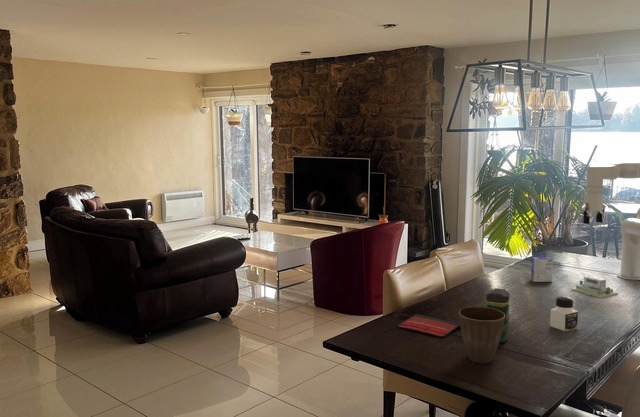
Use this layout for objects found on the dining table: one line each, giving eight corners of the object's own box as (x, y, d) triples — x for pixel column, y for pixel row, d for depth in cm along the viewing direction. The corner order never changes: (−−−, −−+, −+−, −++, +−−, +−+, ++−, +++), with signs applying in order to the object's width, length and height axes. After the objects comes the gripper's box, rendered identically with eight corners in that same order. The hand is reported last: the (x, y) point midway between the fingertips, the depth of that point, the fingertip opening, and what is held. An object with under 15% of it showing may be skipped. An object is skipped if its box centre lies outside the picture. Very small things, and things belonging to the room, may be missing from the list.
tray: (587, 286, 278) (588, 279, 277) (617, 294, 263) (618, 286, 263) (571, 290, 272) (571, 282, 272) (600, 298, 258) (601, 289, 258)
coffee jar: (505, 344, 201) (506, 294, 198) (482, 341, 204) (484, 291, 202) (510, 336, 209) (511, 288, 207) (488, 333, 213) (489, 285, 211)
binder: (415, 313, 233) (462, 323, 219) (415, 318, 233) (462, 329, 220) (395, 324, 220) (443, 336, 207) (395, 330, 221) (443, 342, 207)
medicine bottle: (565, 331, 214) (566, 301, 212) (549, 326, 220) (550, 296, 218) (577, 328, 217) (578, 298, 215) (562, 323, 223) (563, 294, 222)
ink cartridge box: (548, 279, 293) (549, 252, 292) (552, 282, 288) (554, 254, 286) (529, 279, 294) (530, 252, 292) (533, 282, 288) (534, 254, 286)
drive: (589, 287, 273) (589, 275, 272) (605, 291, 265) (606, 279, 264) (583, 288, 271) (583, 276, 270) (599, 292, 263) (600, 280, 262)
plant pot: (511, 367, 181) (512, 319, 179) (466, 369, 180) (467, 321, 178) (493, 350, 195) (494, 305, 194) (451, 351, 194) (452, 307, 192)
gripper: (599, 188, 292) (597, 220, 294) (576, 190, 284) (574, 223, 286) (612, 189, 285) (610, 222, 287) (589, 191, 277) (587, 225, 279)
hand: (592, 222), depth 286 cm, fingers open, 9 cm apart
